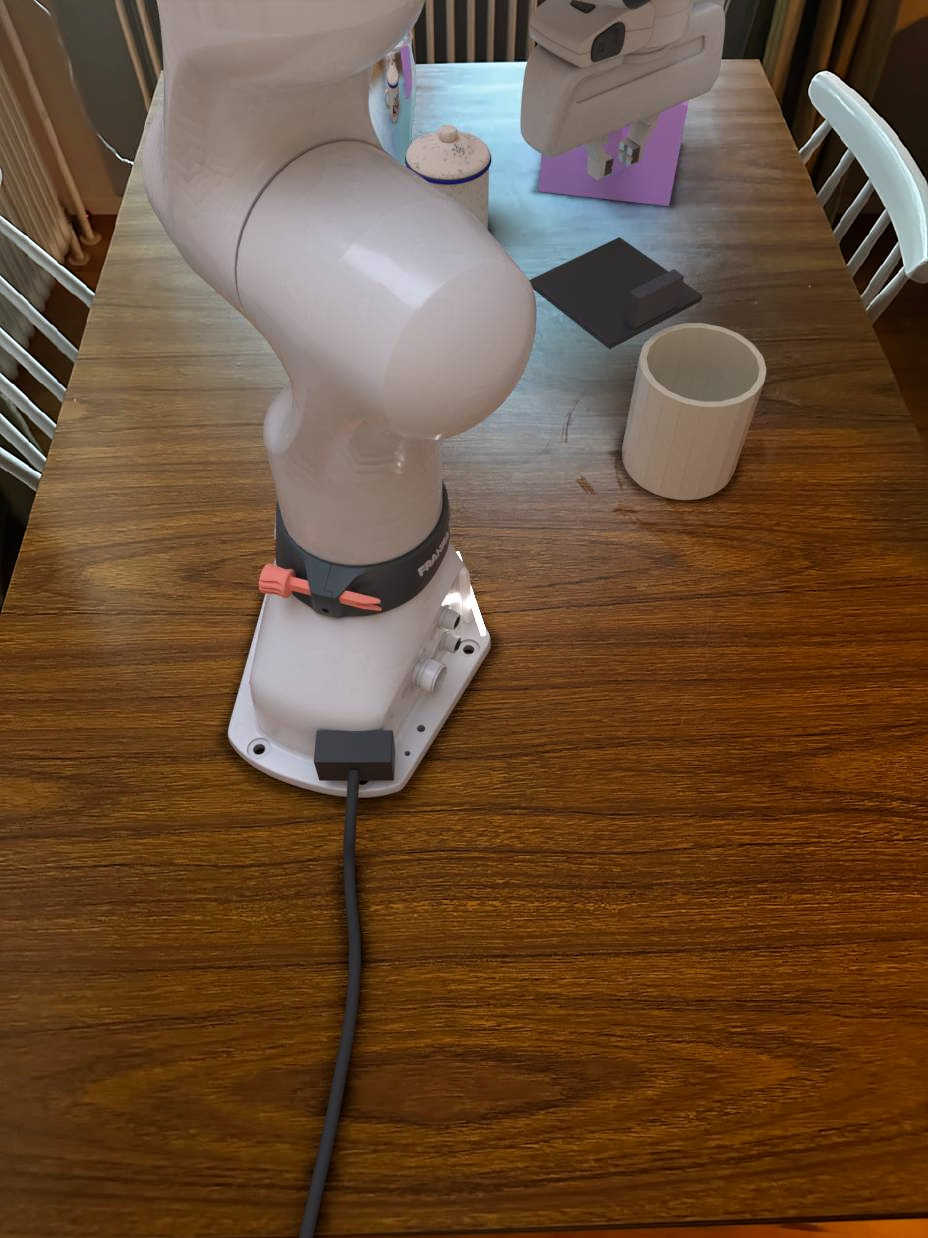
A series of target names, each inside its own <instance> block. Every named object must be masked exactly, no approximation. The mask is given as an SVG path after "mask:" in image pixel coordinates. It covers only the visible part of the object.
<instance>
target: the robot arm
mask: <svg viewBox="0 0 928 1238" xmlns="http://www.w3.org/2000/svg"><path fill="white" fill-rule="evenodd" d="M425 2H426V0H156V3H157V10H158V15H159V16H158V17H159V25H160V31H161V32H160V34H161V35H160V36H161V45H162V46H161V47H162V63H163V64H162V65H163V68H162V69H163V104H162V105H161V106H160V108H159V109H158V111H157V112H156V114H155V116H154V118H153V120H152V121H151V123H150V126H149V129H148V130H147V134H146V137H145V140H144V144H143V149H142V150H143V151H142V158H141V159H142V160H141V171H142V172H141V174H142V182H143V187H144V190H145V193H146V197H147V199H148V202H149V204H150V206H151V208H152V210H153V212H154V214H155V216H156V217H157V219H158V221H159V222H160V224H161V225H162V228H163V229H164V231H165V232H166V234H167V236H168V237H169V239H170V240H171V242H172V244H173V245H174V247H175V248H176V250H177V251H178V252H179V254H180V255H181V257H182V258H183V260H184V261H185V263H186V264H187V265H188V266H189V268H190V269H191V270H192V271H193V272H194V273H195V274H196V275H197V276H198V277H200V279H202V281H204V282H205V283H206V284H207V285H208V286H209V287H210V288H211V289H213V290H214V291H215V292H216V293H217V294H219V296H220V297H222V298H223V299H224V300H225V301H226V302H227V303H228V304H229V305H230V306H231V307H233V309H234V310H236V311H237V312H238V313H239V314H240V315H241V316H242V317H243V318H244V319H246V320H247V321H248V322H249V323H250V324H252V326H253V328H254V329H255V330H256V331H257V332H258V333H259V334H260V335H261V336H262V337H263V338H264V339H265V340H266V342H267V343H268V345H269V346H270V347H271V349H272V351H273V352H274V354H275V355H276V357H277V359H278V360H279V361H280V363H281V365H282V367H283V369H284V370H285V372H286V375H287V377H288V379H289V381H288V382H287V384H285V386H284V387H283V388H282V389H281V390H280V392H279V393H278V394H277V395H276V397H275V398H274V399H273V400H272V402H271V404H270V405H269V407H268V409H267V411H266V413H265V416H264V421H263V428H262V440H263V445H264V448H265V453H266V457H267V462H268V465H269V466H268V467H269V470H270V473H271V474H270V475H271V478H272V482H273V486H274V487H273V488H274V491H275V495H276V499H277V500H276V506H275V508H276V509H275V517H274V524H273V525H274V528H273V540H274V541H275V558H274V561H273V563H267V564H265V565H264V566H263V568H262V570H261V572H260V575H259V581H258V589H259V591H260V593H262V594H264V598H263V601H262V605H261V608H260V612H259V615H258V620H257V623H256V627H255V630H254V634H253V638H252V641H251V646H250V649H249V652H248V655H247V659H246V662H245V667H244V669H243V673H242V677H241V681H240V684H239V688H238V692H237V695H236V699H235V702H234V706H233V709H232V713H231V717H230V721H229V725H228V728H227V737H228V742H229V744H230V745H231V747H232V748H233V750H234V751H235V752H236V754H238V755H239V756H240V757H241V758H242V759H243V760H244V761H245V762H247V763H248V764H249V765H251V766H252V767H253V768H255V769H256V770H258V771H260V772H262V773H263V774H266V775H267V776H270V777H272V778H274V779H276V780H278V781H281V782H283V783H286V784H290V785H292V786H296V787H298V788H301V789H305V790H308V791H311V792H312V791H313V792H316V793H321V794H324V795H329V796H330V795H331V796H336V797H344V798H346V799H345V811H344V827H343V847H342V854H343V855H342V869H343V890H344V901H345V902H344V903H345V915H346V924H347V926H346V927H347V939H348V970H347V971H348V975H347V987H346V988H347V989H346V998H345V1008H344V1015H343V1022H342V1026H341V1027H342V1028H341V1034H340V1039H339V1045H338V1050H337V1054H336V1055H337V1056H336V1061H335V1066H334V1070H333V1077H332V1082H331V1086H330V1092H329V1097H328V1102H327V1107H326V1108H327V1109H326V1113H325V1118H324V1123H323V1128H322V1131H321V1132H322V1133H321V1137H320V1141H319V1146H318V1151H317V1155H316V1159H315V1164H314V1168H313V1172H312V1177H311V1180H310V1185H309V1190H308V1194H307V1198H306V1202H305V1207H304V1211H303V1215H302V1216H303V1217H302V1220H301V1226H300V1229H299V1235H298V1238H314V1235H315V1231H316V1227H317V1222H318V1221H317V1220H318V1217H319V1212H320V1208H321V1207H320V1206H321V1202H322V1198H323V1193H324V1189H325V1184H326V1180H327V1177H328V1176H327V1175H328V1171H329V1166H330V1163H331V1157H332V1153H333V1149H334V1145H335V1144H334V1143H335V1140H336V1134H337V1131H338V1124H339V1120H340V1115H341V1109H342V1105H343V1104H342V1103H343V1099H344V1093H345V1087H346V1082H347V1077H348V1072H349V1071H348V1070H349V1067H350V1059H351V1054H352V1049H353V1044H354V1037H355V1031H356V1025H357V1019H358V1018H357V1017H358V1012H359V1011H358V1010H359V1003H360V993H361V975H362V940H361V926H360V914H359V906H358V904H359V903H358V895H357V894H358V893H357V881H356V879H357V878H356V840H357V839H356V838H357V819H358V806H359V805H358V804H359V798H361V799H363V798H376V797H384V796H388V795H391V794H395V793H398V792H400V791H402V790H403V789H404V788H405V786H406V785H407V784H408V783H409V780H411V778H412V776H413V775H414V773H415V771H416V770H417V768H418V767H419V765H420V763H421V762H422V761H423V759H424V757H425V755H426V754H427V752H428V751H429V749H430V747H432V744H433V743H434V741H435V739H436V737H437V736H438V734H439V733H440V732H441V730H442V728H443V726H444V725H445V723H446V722H447V721H448V719H449V717H450V715H451V713H452V712H453V710H454V709H455V707H456V705H457V704H458V702H459V701H460V699H461V698H462V695H463V694H465V693H464V692H465V691H466V689H467V688H468V686H469V684H470V683H471V682H472V680H473V678H474V677H475V675H476V673H477V672H478V670H479V668H480V667H481V665H482V664H483V662H484V660H485V659H486V657H487V656H488V654H489V652H490V651H491V648H492V639H491V635H490V633H489V630H488V628H487V627H486V626H485V624H484V620H483V618H482V614H481V612H480V609H479V606H478V602H477V600H476V598H475V597H476V596H475V595H474V591H473V588H472V585H471V576H470V571H469V569H467V566H466V564H465V562H464V561H463V559H462V555H461V553H460V551H457V550H456V548H455V547H454V545H453V544H452V542H451V528H452V508H451V504H450V499H449V495H448V491H447V487H446V485H445V482H444V479H443V443H444V441H443V440H446V439H450V438H453V437H456V436H458V435H460V434H463V433H465V432H467V431H469V430H471V429H473V428H475V427H477V426H478V425H479V424H481V423H483V422H484V421H485V420H486V419H488V418H489V417H490V416H491V415H492V414H494V413H495V412H496V411H497V410H498V409H499V408H500V407H501V406H502V405H503V404H504V403H505V402H506V401H507V400H508V398H509V397H510V396H511V394H512V393H513V391H514V390H515V389H516V387H517V385H518V383H519V382H520V380H521V379H522V376H523V374H524V373H525V370H526V368H527V365H528V363H529V360H530V357H531V354H532V351H533V346H534V342H535V337H536V331H537V330H536V329H537V299H536V295H535V290H533V287H532V285H531V283H530V281H529V280H530V279H529V277H528V276H527V275H526V274H525V273H524V271H523V270H522V269H521V267H519V265H518V264H517V262H516V261H515V260H514V259H513V258H512V257H511V255H510V254H509V253H508V252H507V250H506V249H505V248H504V247H503V245H501V243H500V242H499V241H498V240H497V239H496V238H495V237H494V235H492V233H491V232H490V231H489V229H488V230H487V229H486V228H485V227H484V226H483V225H482V223H481V222H480V221H479V220H478V219H477V218H476V217H475V216H474V215H473V213H472V212H470V211H469V210H468V209H467V208H465V207H464V206H462V205H461V204H460V203H458V202H457V201H455V200H454V199H452V198H451V197H449V196H448V195H446V194H445V193H444V192H442V191H441V190H439V189H438V188H436V187H435V186H433V185H432V184H430V183H429V182H428V181H426V180H425V179H423V178H422V177H420V176H419V175H417V174H416V173H415V172H413V171H412V170H410V169H409V168H407V167H406V166H404V165H403V164H401V163H400V162H399V161H397V160H396V159H394V158H393V157H392V156H391V155H390V154H389V153H387V152H386V151H385V150H384V149H383V147H382V145H381V143H380V141H379V139H378V137H377V135H376V133H375V130H374V127H373V125H372V121H371V116H370V111H369V91H370V80H371V74H372V69H373V64H375V63H377V62H378V61H379V60H381V59H382V58H383V57H384V56H386V55H387V54H388V53H389V52H390V51H391V50H393V49H394V48H395V47H396V46H397V45H398V44H399V43H400V41H401V40H402V39H403V38H404V37H405V36H406V35H407V34H408V33H409V31H412V29H413V27H414V26H415V25H416V23H417V21H418V19H419V18H420V15H421V13H422V12H423V11H422V10H423V8H424V5H425ZM725 3H726V0H545V1H544V2H542V3H541V4H540V5H538V6H537V7H535V9H534V10H533V11H532V13H531V15H530V17H529V21H528V22H529V23H528V34H529V37H530V38H531V39H532V40H533V41H534V42H536V43H537V44H536V46H535V47H534V48H533V49H532V51H531V52H530V54H529V56H528V59H527V62H526V65H525V70H524V74H523V80H522V89H521V90H522V91H521V100H520V101H521V102H520V119H519V124H520V125H519V128H520V134H521V136H522V138H523V140H524V141H525V142H526V144H527V145H528V146H529V147H531V148H532V149H533V150H535V151H536V152H538V153H539V154H540V155H541V154H542V155H544V156H546V157H548V158H554V157H557V156H559V155H561V154H564V153H566V152H568V151H571V150H573V149H575V148H578V147H580V146H582V145H583V146H584V148H585V150H586V152H587V154H588V165H587V172H588V174H589V175H590V176H592V177H593V178H594V179H596V180H599V179H601V178H604V177H606V176H608V175H610V174H611V173H612V168H611V167H612V165H613V160H614V157H612V156H611V155H609V154H606V152H604V149H603V145H605V144H607V143H608V138H609V134H610V133H613V132H615V131H618V130H620V129H622V128H625V127H627V126H629V125H631V127H630V129H629V132H628V134H627V136H626V138H625V139H623V140H621V141H620V142H619V152H618V160H619V161H620V162H621V163H625V165H626V166H630V165H633V164H635V163H637V162H640V161H641V160H642V157H643V151H644V145H645V144H646V142H647V140H648V139H649V137H650V135H651V133H652V132H653V130H654V128H655V126H656V125H657V123H658V118H659V113H660V112H662V111H665V110H667V109H669V108H672V107H674V106H676V105H679V104H681V103H683V102H686V101H688V100H689V101H690V100H692V99H695V98H697V97H700V96H702V95H705V94H707V93H709V92H710V91H711V90H712V88H713V87H714V86H715V84H716V81H717V80H718V78H719V76H720V71H721V65H722V57H723V51H724V43H725V42H724V41H725V34H726V33H725V31H726V13H725V10H724V8H725ZM466 651H471V652H472V653H466ZM260 749H261V750H264V751H263V753H260V754H257V753H256V752H257V751H258V750H260ZM361 781H362V782H366V781H367V782H366V783H364V784H360V782H361Z"/></svg>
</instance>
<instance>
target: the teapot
mask: <svg viewBox="0 0 928 1238" xmlns="http://www.w3.org/2000/svg"><path fill="white" fill-rule="evenodd" d="M689 103H690V100H688V101H686V102H683V103H681V104H679V105H676V106H674V107H672V108H669V109H667V110H665V111H662V112H660V113H659V118H658V123H657V125H656V126H655V128H654V130H653V132H652V133H651V135H650V137H649V139H648V140H647V142H646V144H645V145H644V151H643V157H642V160H641V161H640V162H637V163H635V164H633V165H630V166H626V165H625V163H621V162H620V161H619V160H618V152H619V142H620V141H621V140H623V139H625V138H626V136H627V134H628V132H629V129H630V127H631V125H629V126H627V127H625V128H622V129H620V130H618V131H615V132H613V133H610V134H609V138H608V143H607V144H605V145H603V149H604V152H606V154H609V155H611V156H612V157H614V160H613V165H612V167H611V168H612V173H611V174H610V175H608V176H606V177H604V178H601V179H599V180H596V179H594V178H593V177H592V176H590V175H589V174H588V172H587V165H588V154H587V152H586V150H585V148H584V146H583V145H582V146H580V147H578V148H575V149H573V150H571V151H568V152H566V153H564V154H561V155H559V156H557V157H554V158H548V157H546V156H544V155H542V154H541V153H540V165H539V166H540V167H539V181H538V192H540V193H550V194H558V195H565V196H566V195H567V196H574V197H583V198H584V197H585V198H590V199H591V198H592V199H599V200H601V199H602V200H610V201H611V200H612V201H619V202H627V203H636V204H647V205H654V206H655V205H656V206H663V207H670V204H671V203H670V202H671V197H672V191H673V187H674V181H675V177H676V176H675V175H676V170H677V166H678V161H679V156H680V151H681V144H682V140H683V135H684V129H685V124H686V118H687V114H688V113H687V112H688V109H689Z"/></svg>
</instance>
